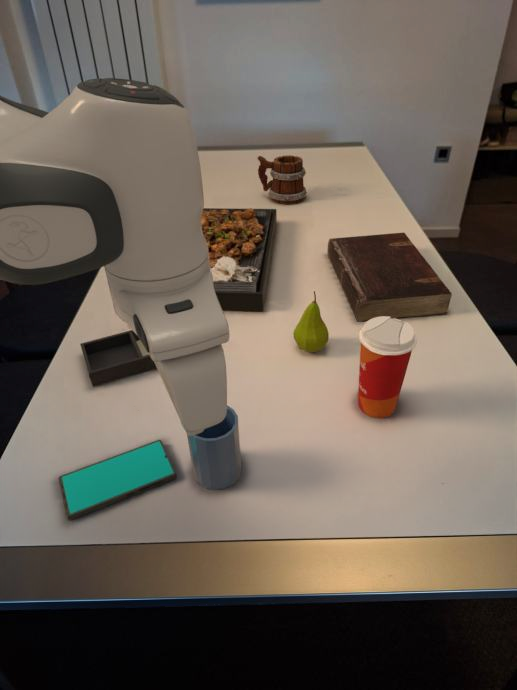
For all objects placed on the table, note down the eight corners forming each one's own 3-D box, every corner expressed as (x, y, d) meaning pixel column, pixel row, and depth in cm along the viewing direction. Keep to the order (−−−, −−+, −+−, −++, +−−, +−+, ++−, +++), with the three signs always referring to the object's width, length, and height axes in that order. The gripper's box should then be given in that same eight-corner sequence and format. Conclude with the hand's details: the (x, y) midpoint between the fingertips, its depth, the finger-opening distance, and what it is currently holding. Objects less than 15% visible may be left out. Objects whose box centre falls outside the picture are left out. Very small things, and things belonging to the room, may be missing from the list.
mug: (310, 204, 149) (302, 154, 140) (263, 212, 151) (253, 163, 143) (309, 190, 158) (302, 142, 150) (265, 198, 161) (256, 151, 152)
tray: (92, 387, 86) (88, 373, 84) (84, 356, 93) (80, 343, 91) (193, 357, 92) (191, 344, 90) (178, 331, 99) (176, 318, 97)
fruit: (300, 361, 90) (302, 305, 83) (289, 342, 95) (290, 287, 88) (333, 354, 91) (337, 299, 84) (320, 336, 96) (324, 282, 89)
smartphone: (57, 476, 69) (160, 439, 74) (59, 480, 70) (161, 442, 75) (66, 518, 64) (176, 474, 69) (68, 521, 65) (177, 478, 70)
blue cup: (203, 497, 67) (195, 447, 61) (187, 461, 72) (179, 412, 66) (248, 479, 69) (246, 429, 63) (230, 445, 74) (226, 397, 68)
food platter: (263, 312, 103) (261, 268, 97) (148, 308, 105) (139, 265, 99) (276, 224, 139) (276, 187, 133) (190, 222, 141) (186, 187, 135)
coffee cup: (364, 381, 85) (374, 308, 76) (410, 400, 81) (426, 325, 72) (341, 410, 80) (349, 335, 71) (389, 431, 76) (404, 354, 67)
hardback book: (327, 256, 123) (328, 237, 120) (401, 251, 124) (404, 232, 121) (355, 321, 100) (358, 300, 97) (446, 314, 101) (451, 293, 98)
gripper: (104, 245, 50) (128, 352, 59) (155, 359, 35) (178, 481, 44) (164, 233, 52) (179, 338, 61) (237, 336, 37) (244, 457, 46)
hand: (179, 399), depth 52 cm, fingers open, 8 cm apart
